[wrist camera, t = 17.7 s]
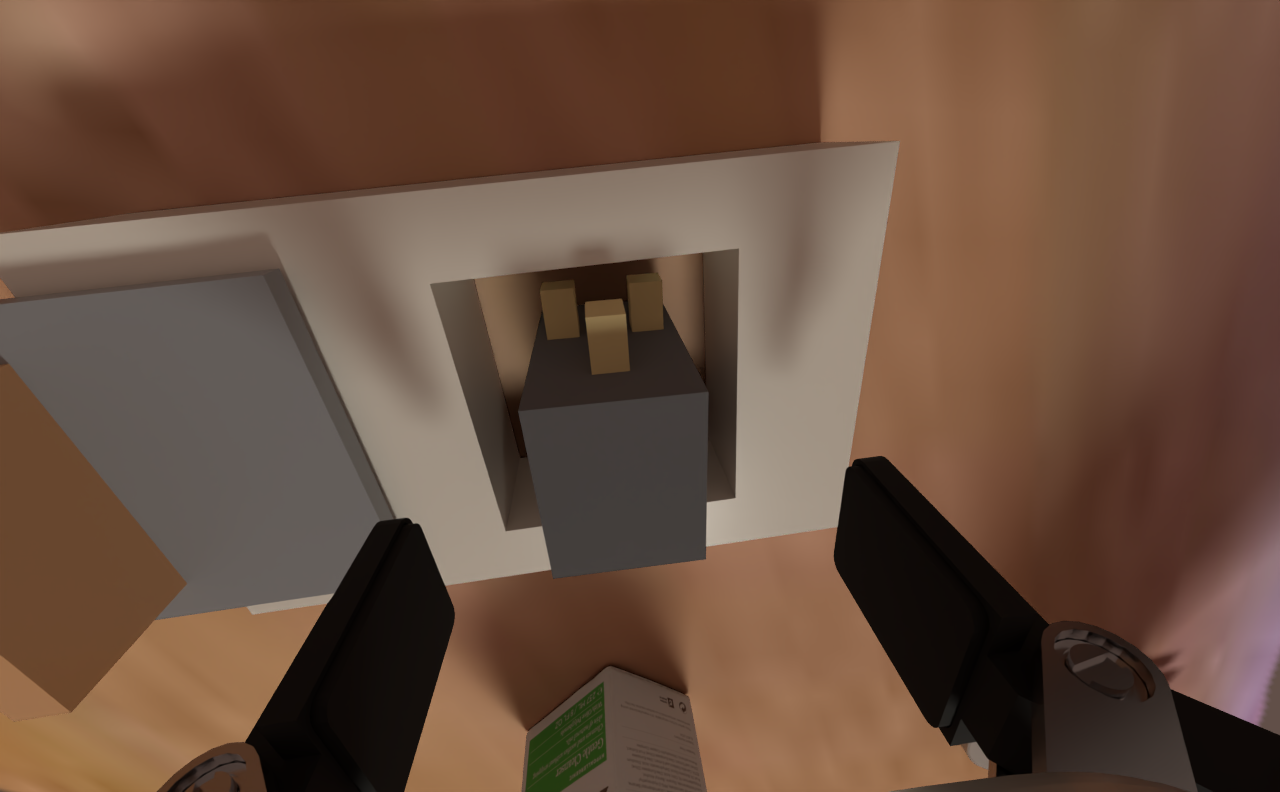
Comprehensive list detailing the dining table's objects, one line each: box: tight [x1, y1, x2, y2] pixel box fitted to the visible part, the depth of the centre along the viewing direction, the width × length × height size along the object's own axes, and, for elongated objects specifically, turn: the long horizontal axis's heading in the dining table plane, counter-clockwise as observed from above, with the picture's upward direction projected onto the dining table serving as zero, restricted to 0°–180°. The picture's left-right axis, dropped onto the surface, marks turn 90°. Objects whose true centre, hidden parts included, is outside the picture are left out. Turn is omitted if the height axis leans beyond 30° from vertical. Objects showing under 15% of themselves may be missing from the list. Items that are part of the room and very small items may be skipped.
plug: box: [518, 273, 709, 579], centre depth 14 cm, size 4×6×7 cm, turn 3°
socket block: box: [0, 141, 900, 615], centre depth 15 cm, size 20×12×4 cm, turn 95°
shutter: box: [0, 269, 393, 722], centre depth 11 cm, size 9×10×4 cm
